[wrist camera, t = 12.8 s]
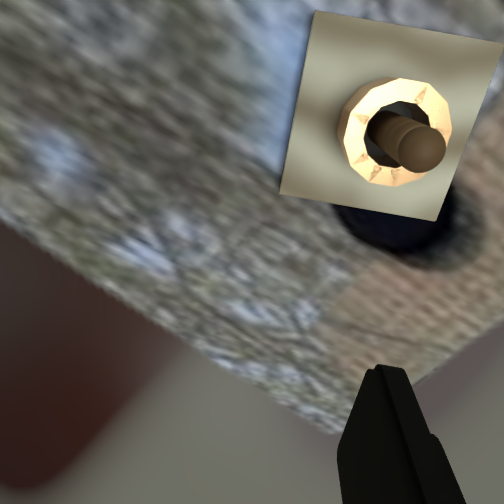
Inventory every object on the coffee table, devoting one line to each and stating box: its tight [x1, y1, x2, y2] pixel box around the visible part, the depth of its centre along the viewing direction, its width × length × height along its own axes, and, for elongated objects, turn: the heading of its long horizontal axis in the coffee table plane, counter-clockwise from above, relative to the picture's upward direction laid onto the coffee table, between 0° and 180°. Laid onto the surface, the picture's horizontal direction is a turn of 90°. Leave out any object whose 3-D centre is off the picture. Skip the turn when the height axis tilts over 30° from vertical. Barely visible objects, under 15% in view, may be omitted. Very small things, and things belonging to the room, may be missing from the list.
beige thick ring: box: [337, 77, 452, 187], centre depth 29 cm, size 7×7×4 cm
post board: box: [279, 10, 504, 221], centre depth 27 cm, size 14×14×13 cm
